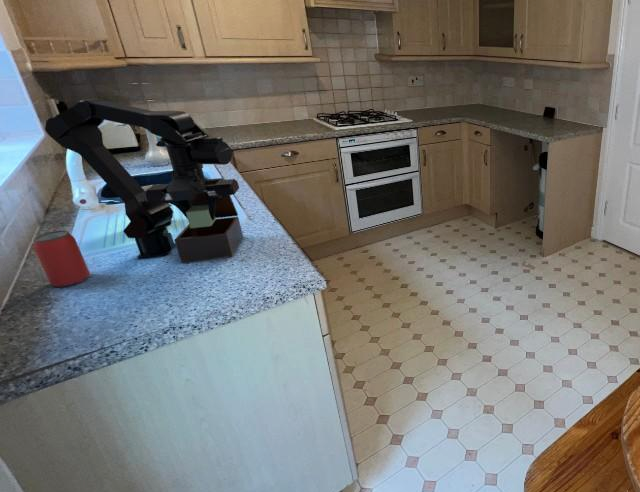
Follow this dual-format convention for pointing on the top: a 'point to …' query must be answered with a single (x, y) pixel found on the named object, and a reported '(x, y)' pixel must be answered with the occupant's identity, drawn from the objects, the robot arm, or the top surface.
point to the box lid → (224, 203)
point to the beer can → (61, 258)
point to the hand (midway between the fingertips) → (202, 220)
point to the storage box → (209, 240)
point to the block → (199, 216)
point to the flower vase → (155, 151)
